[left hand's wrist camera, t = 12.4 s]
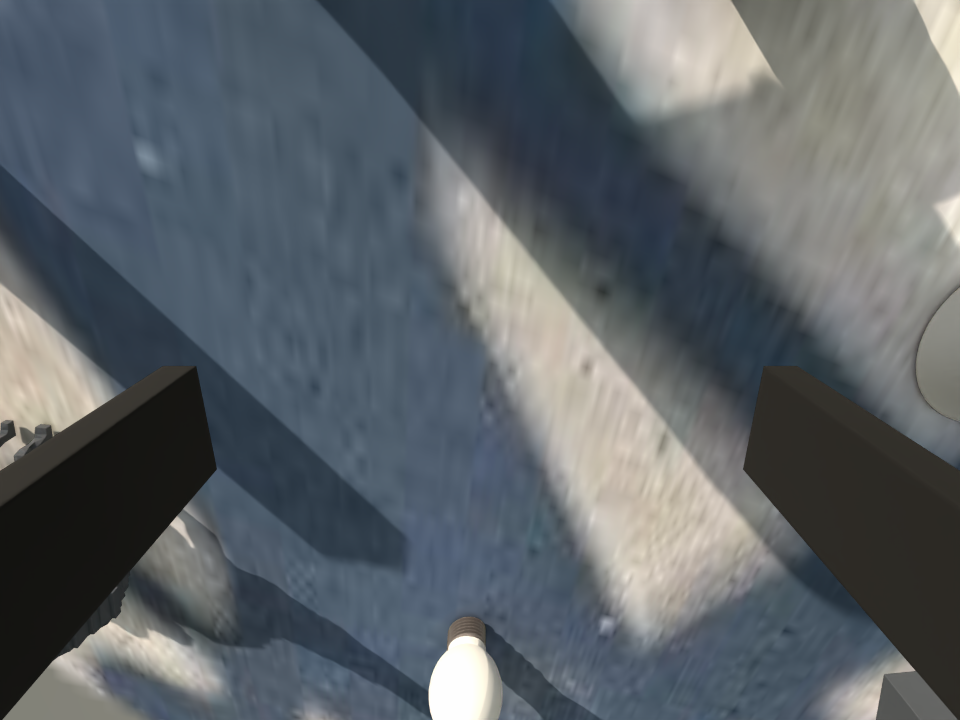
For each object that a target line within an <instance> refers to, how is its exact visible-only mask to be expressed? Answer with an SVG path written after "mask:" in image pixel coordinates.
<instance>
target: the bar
mask: <svg viewBox="0 0 960 720" xmlns="http://www.w3.org/2000/svg"><path fill="white" fill-rule="evenodd" d="M876 720H957V718H956V717H955V716H954V715H953V714H952V712H951V711H950V710H949V709H948V708H947V707H946V705H945V704H944V703H943V702H942V701H941V700H940V698H939V697H938V696H937V695H936V694H935V693H934V691H933V690H932V689H931V688H930V687H929V686H928V684H927V683H926V682H925V681H924V680H923V679H922V677H921V676H920V675H919V674H918V673H917V672H916V671H913V672H903V673H892V674H884V678H883V683H882V689H881V695H880V700H879V706H878V711H877V717H876Z"/></svg>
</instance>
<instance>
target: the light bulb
mask: <svg viewBox="0 0 960 720" xmlns="http://www.w3.org/2000/svg"><path fill="white" fill-rule="evenodd" d="M485 630H486V628H485V625H484V623H483V622H482V621H481V620H479V619H478V618H475V617H464V618H461V619H458V620H457V621H455V622H454V623H453V624H452V625H451V626H450V628H449V630H448V641H447V652H446V653H445V654H444V655H443V656H442V657H441V658H440V660H439V661H438V663H437V664H436V666H435V669H434V671H433V674H432V677H431V682H430V687H429V706H430V712H431V715H432V718H433V720H498V718H499V715H500V711H501V706H502V695H503V692H502V681H501V677H500V674H499V671H498V668H497V666H496V664H495V662H494V660H493V659H492V657H491V656H490V655H489V654H488V653H487V652H486V648H485V647H486V634H485V633H486V631H485Z"/></svg>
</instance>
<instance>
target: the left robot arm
mask: <svg viewBox="0 0 960 720" xmlns="http://www.w3.org/2000/svg"><path fill="white" fill-rule="evenodd" d="M216 470H217V468H216V463H215V458H214V453H213V448H212V443H211V438H210V433H209V428H208V423H207V418H206V413H205V408H204V403H203V398H202V393H201V388H200V383H199V378H198V373H197V368H196V366H162V367H161V368H159V369H158V370H156V371H155V372H153V373H152V374H150V375H148V376H147V377H145V378H144V379H142V380H141V381H139V382H138V383H136V384H134V385H133V386H131V387H130V388H128V389H127V390H125V391H124V392H122V393H121V394H119V395H117V396H116V397H114V398H113V399H111V400H110V401H108V402H107V403H105V404H103V405H102V406H100V407H99V408H97V409H96V410H94V411H93V412H91V413H89V414H88V415H86V416H85V417H83V418H82V419H80V420H79V421H77V422H75V423H74V424H72V425H71V426H69V427H68V428H66V429H65V430H63V431H62V432H60V433H58V434H57V435H55V436H54V437H52V438H51V439H49V440H48V441H46V442H44V443H43V444H41V445H40V446H38V447H37V448H35V449H34V450H32V451H30V452H29V453H27V454H26V455H24V456H23V457H21V458H20V459H18V460H16V461H15V462H13V463H12V464H10V465H9V466H7V467H6V468H4V469H2V470H1V471H0V720H2V719H3V718H4V717H5V716H6V715H7V714H8V712H9V711H10V710H11V709H12V708H13V707H14V705H15V704H16V703H17V702H18V701H19V700H20V698H21V697H22V696H23V695H24V694H25V693H26V691H27V690H28V689H29V688H30V687H31V686H32V684H33V683H34V682H35V681H36V680H37V679H38V677H39V676H40V675H41V674H42V673H43V672H44V670H45V669H46V668H47V667H48V666H49V665H50V663H51V662H52V661H53V660H54V659H55V658H56V656H57V655H58V654H59V653H60V652H61V651H62V649H63V648H64V647H65V646H66V645H67V644H68V642H69V641H70V640H71V639H72V638H73V637H74V635H75V634H76V633H77V632H78V631H79V630H80V628H81V627H82V626H83V625H84V624H85V623H86V621H87V620H88V619H89V618H90V617H91V616H92V614H93V613H94V612H95V611H96V610H97V609H98V607H99V606H100V605H101V604H102V603H103V602H104V600H105V599H106V598H107V597H108V596H109V595H110V593H111V592H112V591H113V590H114V589H115V588H116V586H117V585H118V584H119V583H120V582H121V581H122V579H123V578H124V577H125V576H126V575H127V574H128V572H129V571H130V570H131V569H132V568H133V567H134V565H135V564H136V563H137V562H138V561H139V560H140V558H141V557H142V556H143V555H144V554H145V553H146V551H147V550H148V549H149V548H150V547H151V546H152V544H153V543H154V542H155V541H156V540H157V539H158V537H159V536H160V535H161V534H162V533H163V532H164V530H165V529H166V528H167V527H168V526H169V525H170V523H171V522H172V521H173V520H174V519H175V518H176V516H177V515H178V514H179V513H180V512H181V511H182V509H183V508H184V507H185V506H186V505H187V504H188V502H189V501H190V500H191V499H192V498H193V496H194V495H195V494H196V493H197V492H198V491H199V489H200V488H201V487H202V486H203V485H204V484H205V482H206V481H207V480H208V479H209V478H210V477H211V475H212V474H213V473H214V472H215V471H216ZM743 470H744V471H745V472H746V473H747V474H748V475H749V477H750V478H751V479H752V480H753V481H754V482H755V484H756V485H757V486H758V487H759V488H760V489H761V491H762V492H763V493H764V494H765V495H766V497H767V498H768V499H769V500H770V501H771V502H772V504H773V505H774V506H775V507H776V508H777V509H778V511H779V512H780V513H781V514H782V515H783V516H784V518H785V519H786V520H787V521H788V522H789V523H790V525H791V526H792V527H793V528H794V529H795V530H796V532H797V533H798V534H799V535H800V536H801V537H802V539H803V540H804V541H805V542H806V543H807V544H808V546H809V547H810V548H811V549H812V550H813V551H814V553H815V554H816V555H817V556H818V557H819V558H820V560H821V561H822V562H823V563H824V564H825V565H826V567H827V568H828V569H829V570H830V571H831V572H832V574H833V575H834V576H835V577H836V578H837V579H838V581H839V582H840V583H841V584H842V585H843V586H844V588H845V589H846V590H847V591H848V592H849V593H850V595H851V596H852V597H853V598H854V599H855V600H856V602H857V603H858V604H859V605H860V606H861V607H862V609H863V610H864V611H865V612H866V613H867V614H868V616H869V617H870V618H871V619H872V620H873V621H874V623H875V624H876V625H877V626H878V627H879V628H880V630H881V631H882V632H883V633H884V634H885V635H886V637H887V638H888V639H889V640H890V641H891V642H892V644H893V645H894V646H895V647H896V648H897V649H898V651H899V652H900V653H901V654H902V655H903V656H904V658H905V659H906V660H907V661H908V662H909V663H910V665H911V666H912V667H913V668H914V669H915V670H916V672H917V673H918V674H919V675H920V676H921V677H922V679H923V680H924V681H925V682H926V683H927V684H928V686H929V687H930V688H931V689H932V690H933V691H934V693H935V694H936V695H937V696H938V697H939V698H940V700H941V701H942V702H943V703H944V704H945V705H946V707H947V708H948V709H949V710H950V711H951V712H952V714H953V715H954V716H955V717H956V718H957V720H960V471H959V470H958V469H956V468H954V467H953V466H951V465H950V464H948V463H947V462H945V461H944V460H942V459H940V458H939V457H937V456H936V455H934V454H933V453H931V452H930V451H928V450H926V449H925V448H923V447H922V446H920V445H919V444H917V443H916V442H914V441H912V440H911V439H909V438H908V437H906V436H905V435H903V434H902V433H900V432H898V431H897V430H895V429H894V428H892V427H891V426H889V425H888V424H886V423H885V422H883V421H881V420H880V419H878V418H877V417H875V416H874V415H872V414H871V413H869V412H867V411H866V410H864V409H863V408H861V407H860V406H858V405H857V404H855V403H853V402H852V401H850V400H849V399H847V398H846V397H844V396H843V395H841V394H839V393H838V392H836V391H835V390H833V389H832V388H830V387H829V386H827V385H826V384H824V383H822V382H821V381H819V380H818V379H816V378H815V377H813V376H812V375H810V374H808V373H807V372H805V371H804V370H802V369H801V368H799V367H798V366H764V368H763V373H762V378H761V383H760V388H759V393H758V398H757V403H756V408H755V413H754V418H753V423H752V428H751V433H750V438H749V443H748V448H747V453H746V458H745V463H744V468H743Z"/></svg>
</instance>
